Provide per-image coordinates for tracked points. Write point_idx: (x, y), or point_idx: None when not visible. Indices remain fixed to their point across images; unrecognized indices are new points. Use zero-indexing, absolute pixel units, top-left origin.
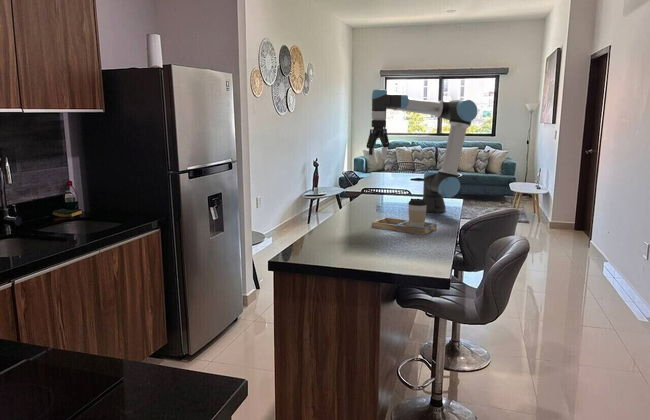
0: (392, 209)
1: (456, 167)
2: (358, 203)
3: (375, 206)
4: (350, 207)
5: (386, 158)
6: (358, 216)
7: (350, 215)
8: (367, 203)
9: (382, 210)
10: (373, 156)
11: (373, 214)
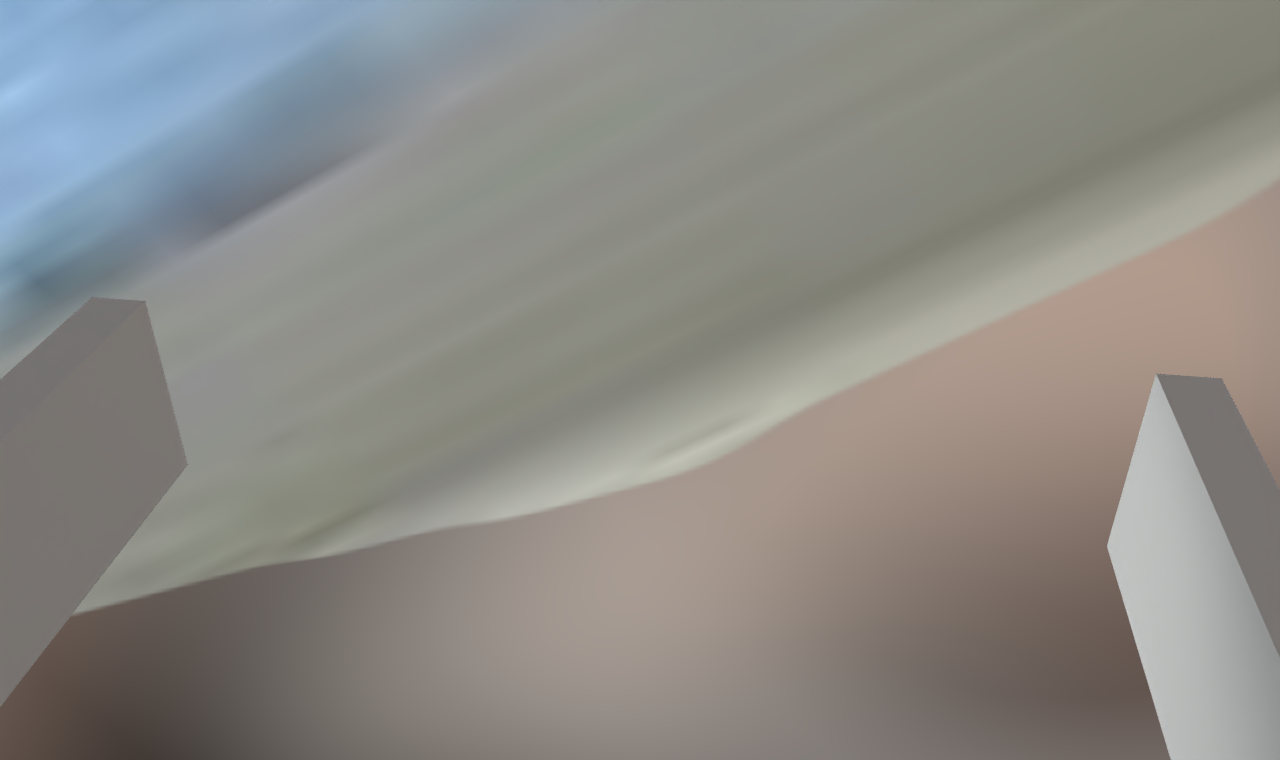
0: (54, 46)
1: None
2: None
3: None
4: (355, 514)
5: (86, 318)
6: (787, 198)
7: (787, 308)
8: None
9: (218, 128)
10: (1273, 505)
11: (539, 97)
